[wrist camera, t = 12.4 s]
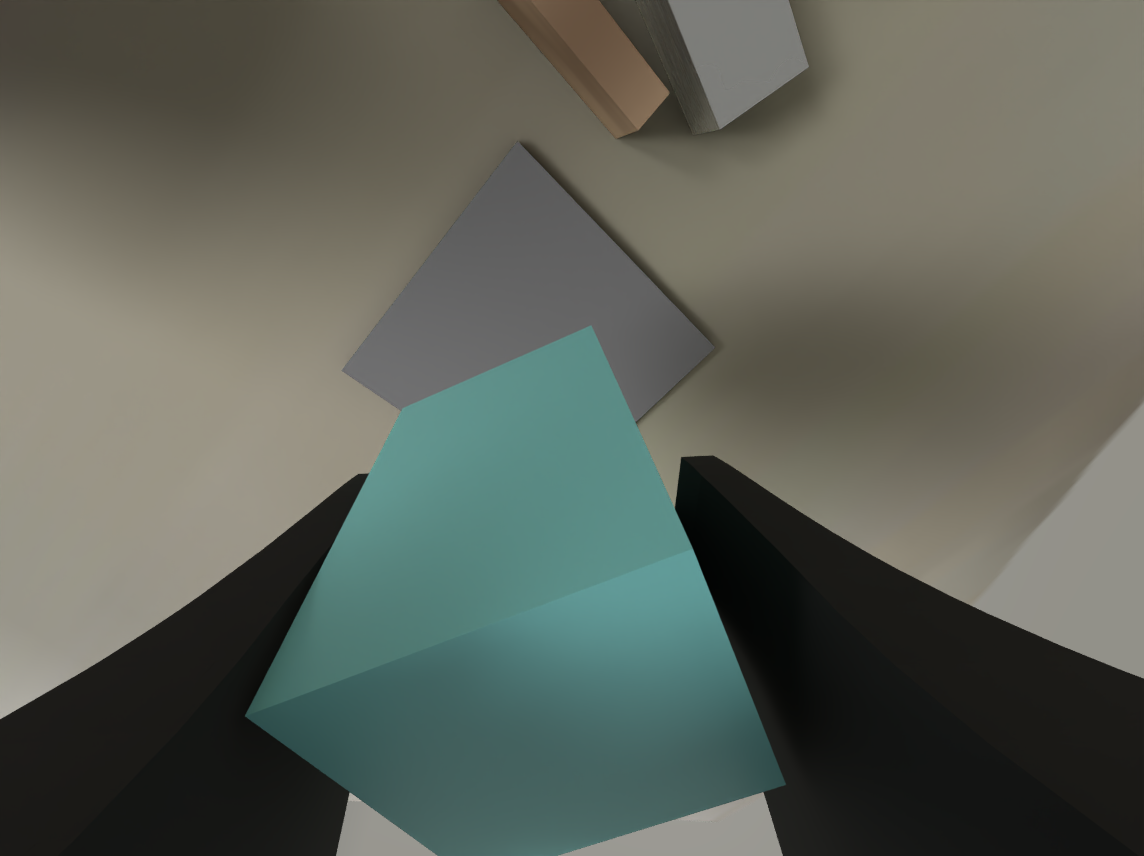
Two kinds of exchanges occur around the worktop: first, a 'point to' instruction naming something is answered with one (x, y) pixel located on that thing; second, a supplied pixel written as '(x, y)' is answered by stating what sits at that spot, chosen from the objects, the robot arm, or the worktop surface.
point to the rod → (723, 54)
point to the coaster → (525, 299)
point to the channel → (593, 59)
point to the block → (518, 628)
